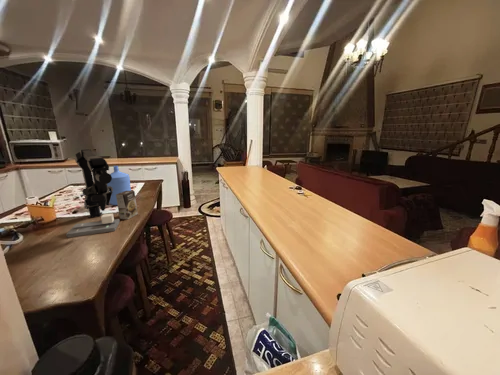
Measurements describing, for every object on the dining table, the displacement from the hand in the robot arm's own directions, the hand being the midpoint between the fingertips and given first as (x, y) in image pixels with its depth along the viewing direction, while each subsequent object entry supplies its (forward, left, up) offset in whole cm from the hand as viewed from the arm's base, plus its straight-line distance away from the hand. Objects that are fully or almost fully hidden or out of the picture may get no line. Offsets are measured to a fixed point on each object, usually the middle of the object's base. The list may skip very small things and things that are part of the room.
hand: (105, 207), depth 123 cm
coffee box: (-14, +8, -12) cm, 20 cm away
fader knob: (0, 0, -10) cm, 10 cm away
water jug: (-47, -2, -12) cm, 48 cm away
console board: (0, -7, -12) cm, 14 cm away
